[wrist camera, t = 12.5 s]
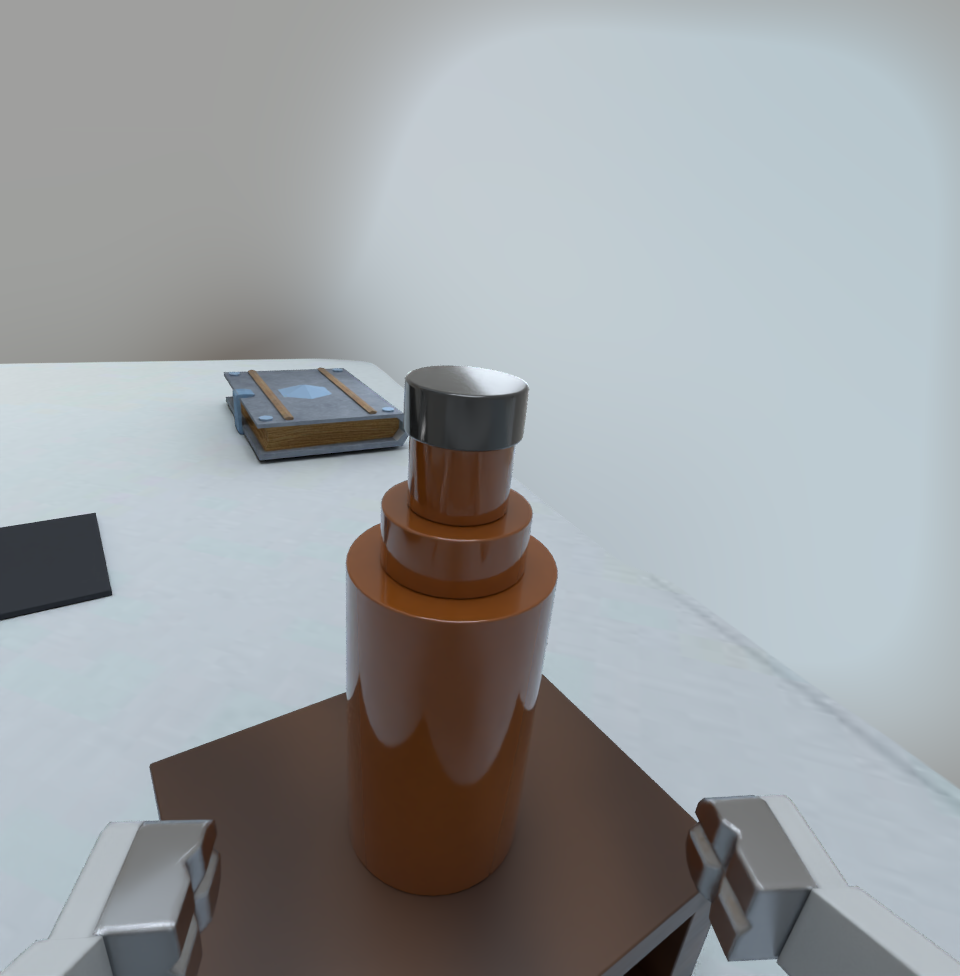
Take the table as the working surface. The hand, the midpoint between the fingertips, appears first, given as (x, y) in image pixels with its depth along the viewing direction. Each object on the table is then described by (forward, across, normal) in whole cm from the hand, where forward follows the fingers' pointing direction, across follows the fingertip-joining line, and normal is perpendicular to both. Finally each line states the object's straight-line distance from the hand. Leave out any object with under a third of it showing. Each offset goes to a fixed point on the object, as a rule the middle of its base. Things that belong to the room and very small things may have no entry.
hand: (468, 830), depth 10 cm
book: (+63, +12, +15) cm, 66 cm away
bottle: (+6, 0, +7) cm, 9 cm away
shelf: (+6, 0, +14) cm, 16 cm away
